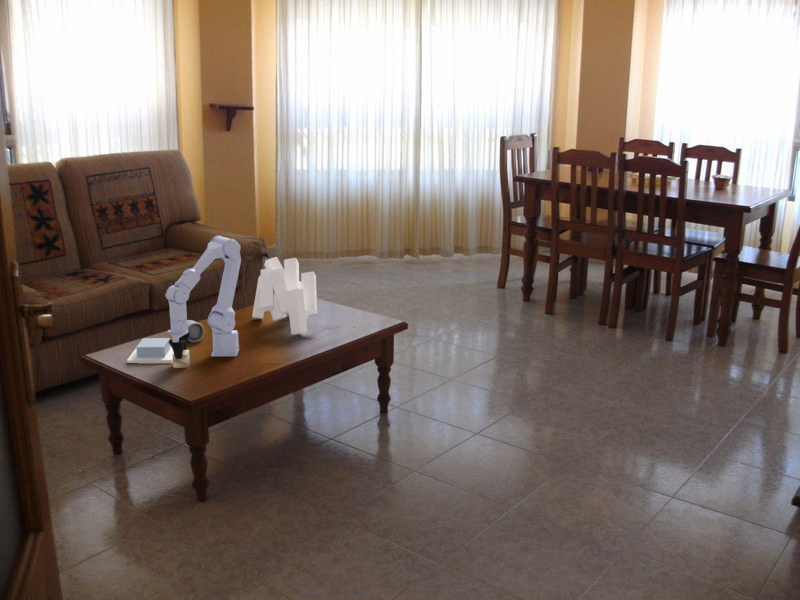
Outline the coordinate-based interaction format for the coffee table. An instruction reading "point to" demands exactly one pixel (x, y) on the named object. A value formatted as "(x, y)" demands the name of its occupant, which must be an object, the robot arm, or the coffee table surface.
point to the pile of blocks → (286, 293)
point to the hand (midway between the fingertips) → (180, 354)
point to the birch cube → (182, 360)
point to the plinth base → (151, 360)
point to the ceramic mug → (195, 331)
